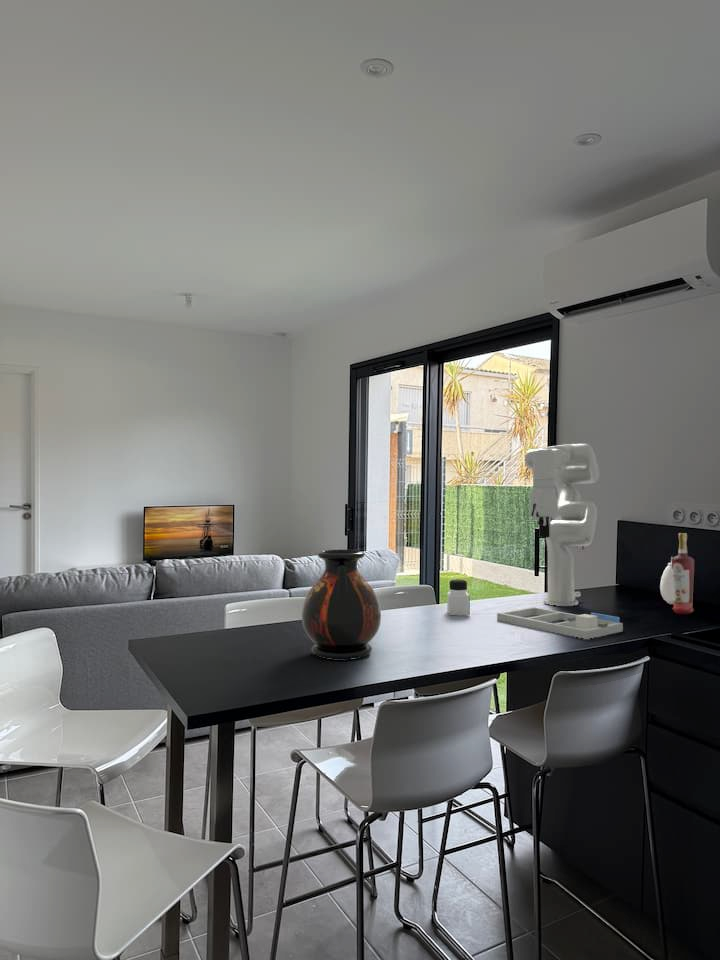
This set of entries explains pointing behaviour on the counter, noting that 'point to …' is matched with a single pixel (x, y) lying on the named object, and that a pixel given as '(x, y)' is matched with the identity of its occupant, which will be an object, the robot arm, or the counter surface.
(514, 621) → the compartment tray
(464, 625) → the counter surface
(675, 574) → the liquor
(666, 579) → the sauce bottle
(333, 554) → the black and orange vase
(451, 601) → the medicine bottle
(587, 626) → the cream matte cube
